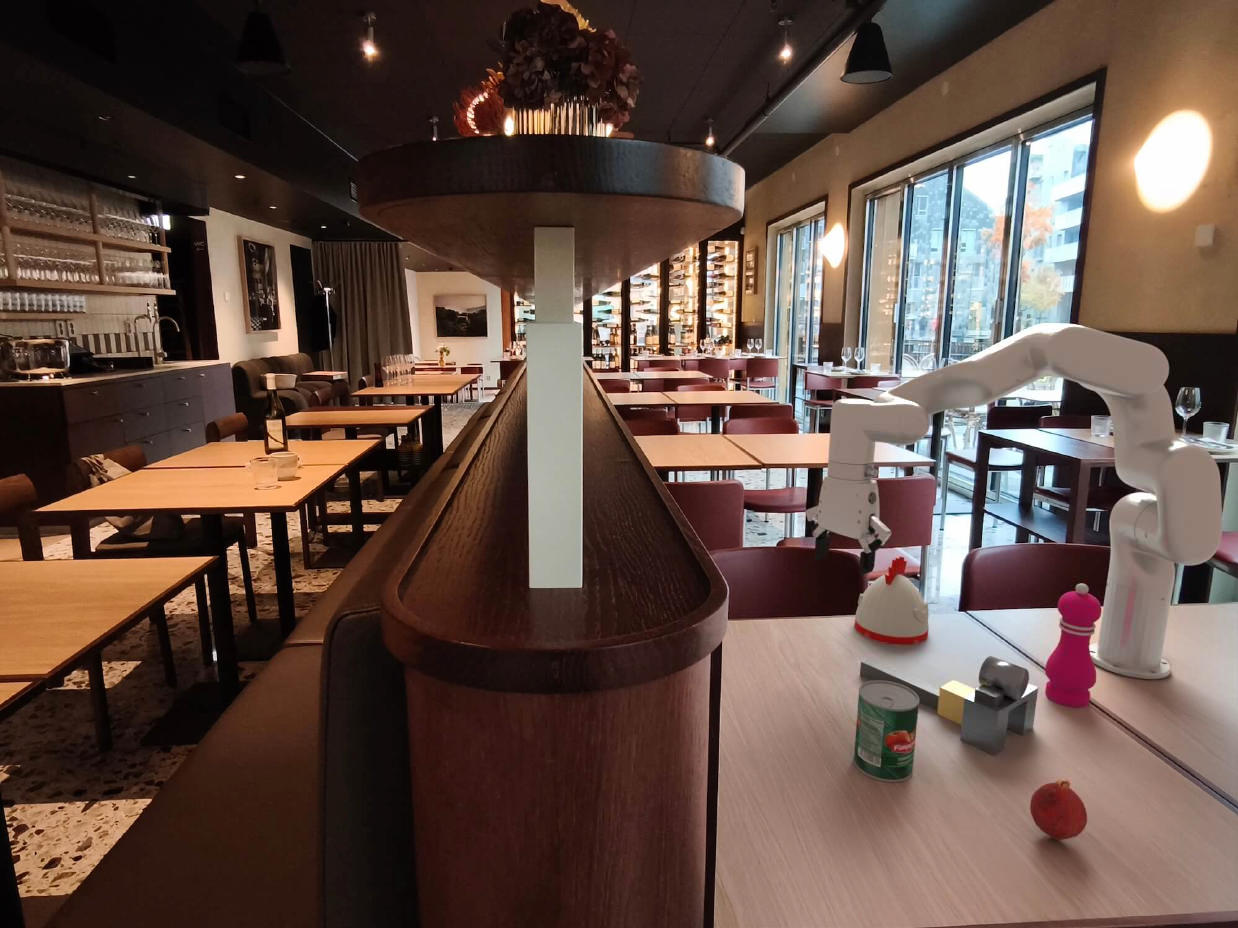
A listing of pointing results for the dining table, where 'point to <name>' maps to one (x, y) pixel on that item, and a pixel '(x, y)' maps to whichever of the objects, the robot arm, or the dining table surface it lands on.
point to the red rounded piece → (1058, 810)
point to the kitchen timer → (893, 609)
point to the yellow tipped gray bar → (923, 689)
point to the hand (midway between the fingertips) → (843, 564)
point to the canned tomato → (886, 730)
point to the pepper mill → (1073, 650)
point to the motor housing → (998, 705)
